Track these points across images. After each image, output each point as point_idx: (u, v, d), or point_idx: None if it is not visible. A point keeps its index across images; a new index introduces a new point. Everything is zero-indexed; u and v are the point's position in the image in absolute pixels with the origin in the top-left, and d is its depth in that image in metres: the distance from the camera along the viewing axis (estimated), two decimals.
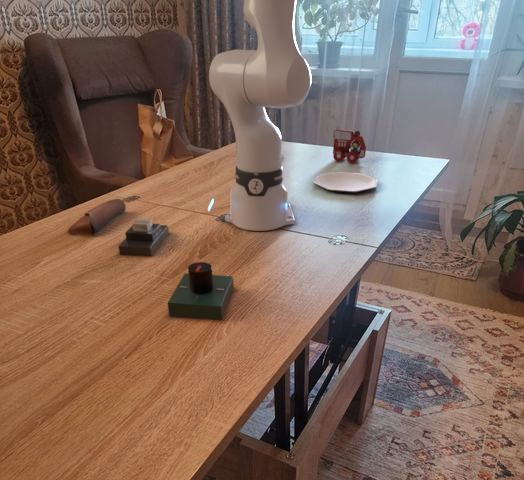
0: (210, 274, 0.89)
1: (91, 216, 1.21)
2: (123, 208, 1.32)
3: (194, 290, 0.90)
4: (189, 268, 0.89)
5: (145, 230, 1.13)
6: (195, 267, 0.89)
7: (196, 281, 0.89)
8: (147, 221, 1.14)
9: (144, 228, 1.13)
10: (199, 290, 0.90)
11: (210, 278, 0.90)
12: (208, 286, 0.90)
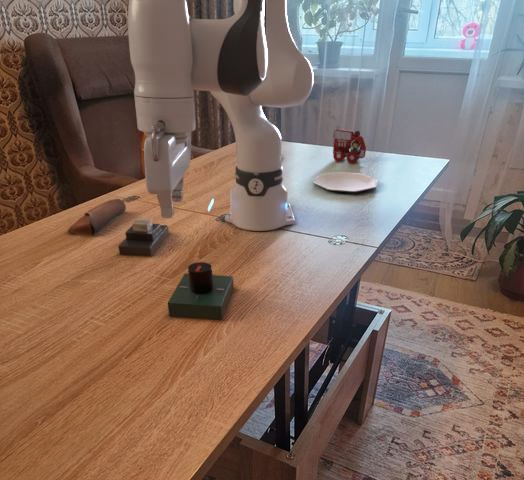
0: (210, 274, 0.89)
1: (91, 216, 1.21)
2: (123, 208, 1.32)
3: (194, 290, 0.90)
4: (189, 268, 0.89)
5: (145, 230, 1.13)
6: (195, 267, 0.89)
7: (196, 281, 0.89)
8: (147, 221, 1.14)
9: (144, 228, 1.13)
10: (199, 290, 0.90)
11: (210, 278, 0.90)
12: (208, 286, 0.90)
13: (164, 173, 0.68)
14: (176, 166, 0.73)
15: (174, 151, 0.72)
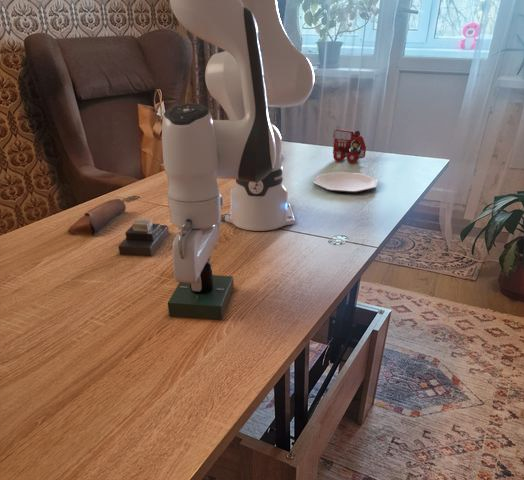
0: (210, 274, 0.89)
1: (91, 216, 1.21)
2: (123, 208, 1.32)
3: None
4: None
5: (145, 230, 1.13)
6: None
7: None
8: (147, 221, 1.14)
9: (144, 228, 1.13)
10: None
11: (210, 278, 0.90)
12: (208, 286, 0.90)
13: (189, 268, 0.79)
14: (202, 254, 0.83)
15: (200, 242, 0.83)
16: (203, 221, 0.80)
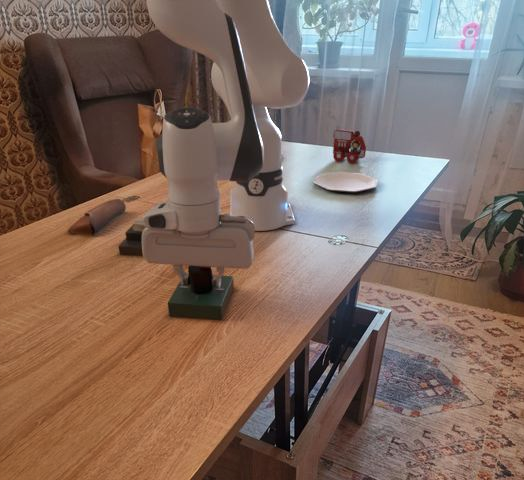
0: None
1: (91, 216, 1.21)
2: (123, 208, 1.32)
3: (210, 288, 0.91)
4: (201, 271, 0.88)
5: None
6: (200, 269, 0.89)
7: (211, 277, 0.90)
8: None
9: (144, 228, 1.13)
10: None
11: None
12: None
13: None
14: None
15: None
16: None
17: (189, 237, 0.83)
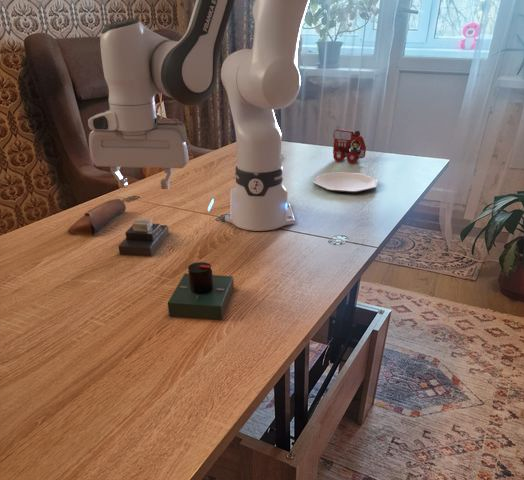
0: None
1: (91, 216, 1.21)
2: (123, 208, 1.32)
3: (210, 288, 0.91)
4: (201, 271, 0.88)
5: (145, 230, 1.13)
6: (200, 269, 0.89)
7: (211, 277, 0.90)
8: (147, 221, 1.14)
9: (144, 228, 1.13)
10: (212, 286, 0.91)
11: None
12: None
13: (186, 149, 1.00)
14: None
15: None
16: None
17: (129, 137, 0.96)
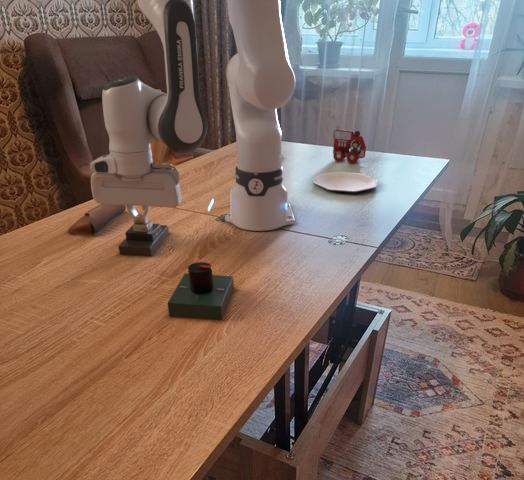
0: None
1: (91, 216, 1.21)
2: (123, 208, 1.32)
3: (210, 288, 0.91)
4: (201, 271, 0.88)
5: None
6: (200, 269, 0.89)
7: (211, 277, 0.90)
8: (147, 223, 1.14)
9: (145, 230, 1.13)
10: (212, 286, 0.91)
11: None
12: None
13: (179, 190, 1.09)
14: None
15: None
16: None
17: (127, 180, 1.05)
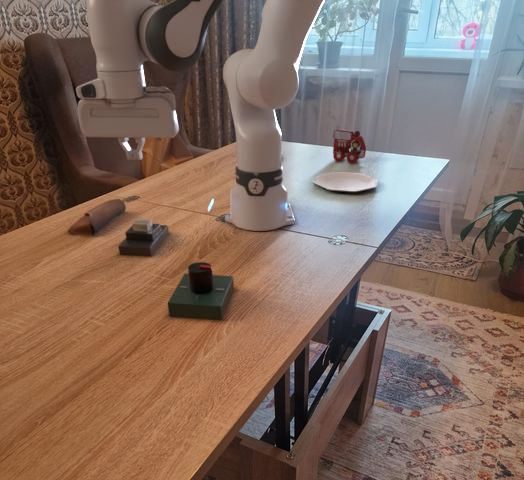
0: None
1: (91, 216, 1.21)
2: (123, 208, 1.32)
3: (210, 288, 0.91)
4: (201, 271, 0.88)
5: (145, 230, 1.13)
6: (200, 269, 0.89)
7: (211, 277, 0.90)
8: (147, 221, 1.14)
9: (144, 228, 1.13)
10: (212, 286, 0.91)
11: None
12: None
13: (176, 119, 0.98)
14: None
15: None
16: None
17: (117, 106, 0.94)
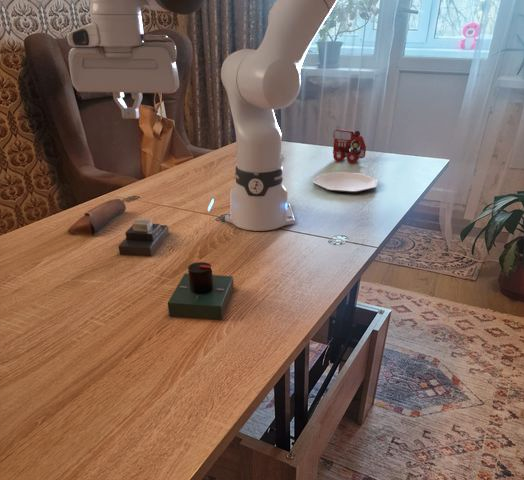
0: None
1: (91, 216, 1.21)
2: (123, 208, 1.32)
3: (210, 288, 0.91)
4: (201, 271, 0.88)
5: (145, 230, 1.13)
6: (200, 269, 0.89)
7: (211, 277, 0.90)
8: (147, 221, 1.14)
9: (144, 228, 1.13)
10: (212, 286, 0.91)
11: None
12: None
13: (177, 72, 0.90)
14: None
15: None
16: None
17: (112, 55, 0.86)
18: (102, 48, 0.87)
